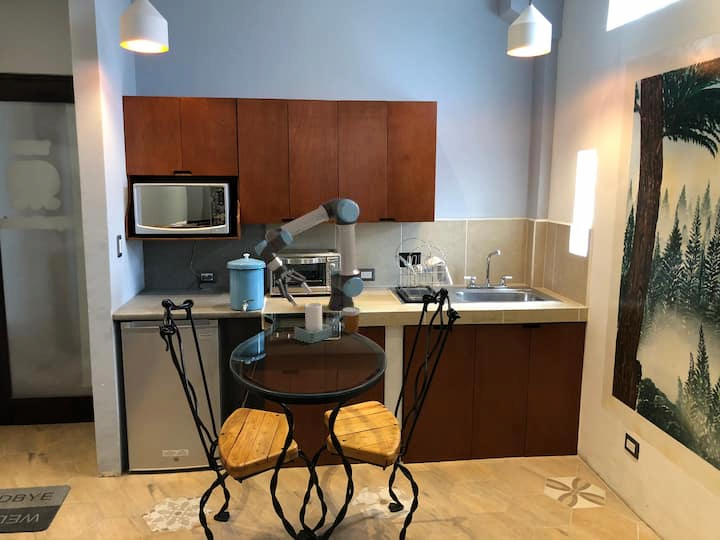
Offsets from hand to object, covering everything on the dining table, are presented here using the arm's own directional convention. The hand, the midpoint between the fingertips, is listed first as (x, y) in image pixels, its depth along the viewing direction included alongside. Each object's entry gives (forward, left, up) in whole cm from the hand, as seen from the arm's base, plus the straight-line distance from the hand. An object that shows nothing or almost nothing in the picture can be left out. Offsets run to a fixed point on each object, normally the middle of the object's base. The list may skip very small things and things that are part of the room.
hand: (303, 299), depth 294 cm
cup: (+8, +17, -14) cm, 23 cm away
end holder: (+8, +17, -15) cm, 24 cm away
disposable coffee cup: (-10, +25, -15) cm, 31 cm away
